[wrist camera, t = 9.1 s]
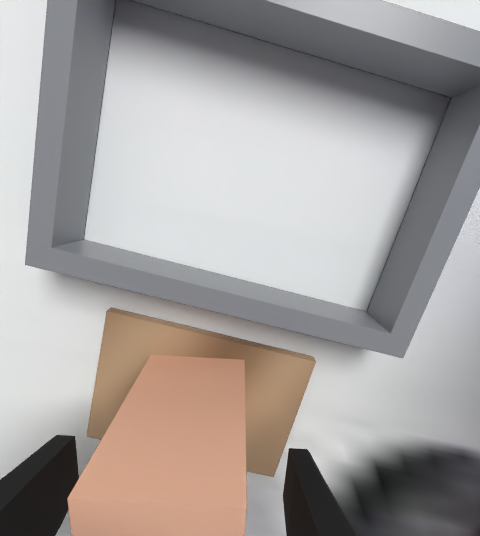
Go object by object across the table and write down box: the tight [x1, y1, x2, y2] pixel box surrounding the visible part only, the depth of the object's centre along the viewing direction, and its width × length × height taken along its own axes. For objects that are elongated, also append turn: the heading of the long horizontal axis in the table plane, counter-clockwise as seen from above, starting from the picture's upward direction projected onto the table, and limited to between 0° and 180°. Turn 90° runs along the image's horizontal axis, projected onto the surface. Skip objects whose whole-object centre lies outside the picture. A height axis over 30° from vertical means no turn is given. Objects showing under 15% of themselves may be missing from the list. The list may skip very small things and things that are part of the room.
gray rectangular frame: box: [25, 0, 480, 358], centre depth 10 cm, size 14×10×2 cm
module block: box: [67, 355, 247, 536], centre depth 10 cm, size 4×4×6 cm
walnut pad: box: [87, 308, 316, 477], centre depth 13 cm, size 9×6×1 cm
